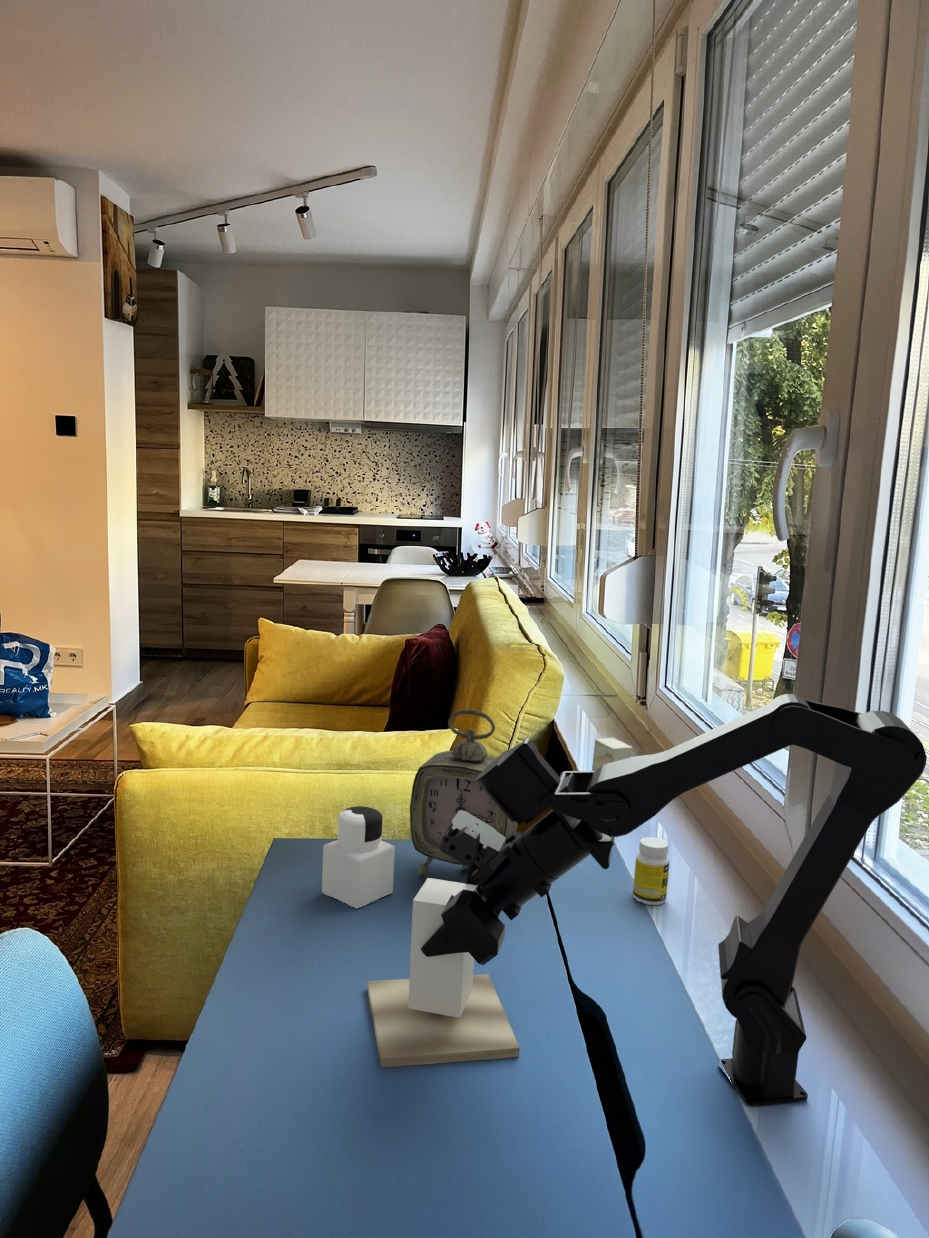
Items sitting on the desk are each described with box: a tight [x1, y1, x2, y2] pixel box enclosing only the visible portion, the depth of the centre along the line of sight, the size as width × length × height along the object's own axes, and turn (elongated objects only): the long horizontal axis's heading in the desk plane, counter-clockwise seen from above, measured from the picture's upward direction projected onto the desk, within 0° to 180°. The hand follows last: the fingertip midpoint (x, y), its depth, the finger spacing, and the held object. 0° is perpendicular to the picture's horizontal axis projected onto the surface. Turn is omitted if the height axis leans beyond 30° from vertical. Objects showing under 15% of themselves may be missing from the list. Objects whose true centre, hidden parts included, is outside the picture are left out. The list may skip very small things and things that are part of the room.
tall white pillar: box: [408, 877, 477, 1018], centre depth 97 cm, size 6×6×12 cm
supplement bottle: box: [632, 836, 671, 906], centre depth 130 cm, size 5×5×8 cm
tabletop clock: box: [409, 708, 518, 876], centre depth 133 cm, size 14×9×25 cm, turn 73°
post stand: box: [366, 973, 520, 1069], centre depth 98 cm, size 14×14×4 cm
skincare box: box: [591, 737, 633, 771], centre depth 166 cm, size 6×4×12 cm
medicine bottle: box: [321, 805, 396, 908], centre depth 126 cm, size 7×7×12 cm
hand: (431, 938), depth 97 cm, fingers closed on tall white pillar, 6 cm apart
